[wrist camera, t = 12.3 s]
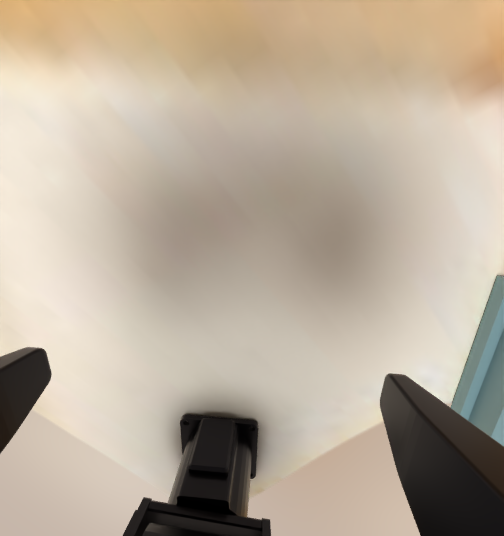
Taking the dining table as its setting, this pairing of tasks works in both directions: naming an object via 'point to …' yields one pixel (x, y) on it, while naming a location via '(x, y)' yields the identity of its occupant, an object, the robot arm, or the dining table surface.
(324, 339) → the dining table surface
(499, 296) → the square tray
